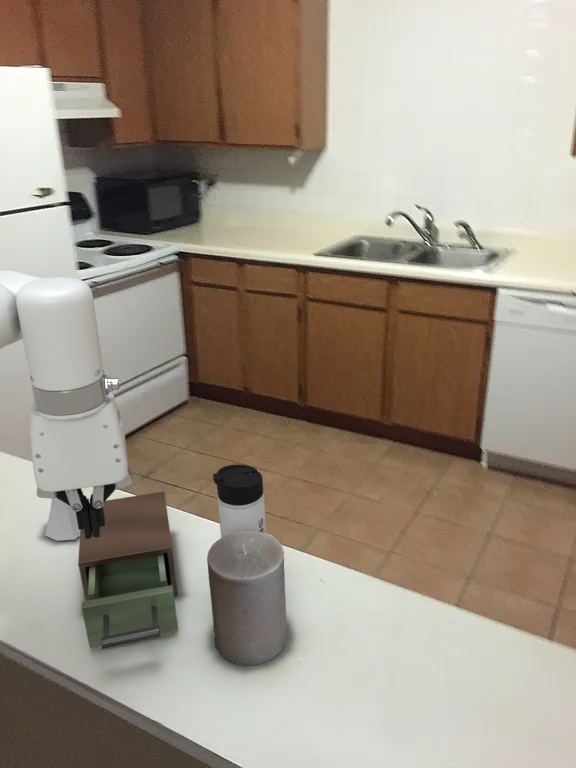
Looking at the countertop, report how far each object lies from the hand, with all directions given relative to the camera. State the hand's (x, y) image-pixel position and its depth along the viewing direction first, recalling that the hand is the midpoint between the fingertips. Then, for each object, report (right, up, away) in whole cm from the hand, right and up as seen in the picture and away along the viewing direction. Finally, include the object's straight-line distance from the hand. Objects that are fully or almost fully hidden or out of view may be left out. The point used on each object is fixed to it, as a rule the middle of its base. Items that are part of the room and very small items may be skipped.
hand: (93, 531), depth 80 cm
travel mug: (+17, -12, +17) cm, 27 cm away
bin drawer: (+2, -14, +11) cm, 18 cm away
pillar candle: (+19, -16, +8) cm, 26 cm away
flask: (-13, -7, +32) cm, 35 cm away
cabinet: (0, -11, +21) cm, 24 cm away
